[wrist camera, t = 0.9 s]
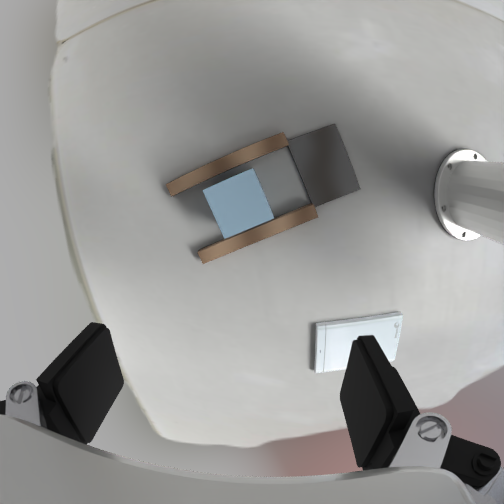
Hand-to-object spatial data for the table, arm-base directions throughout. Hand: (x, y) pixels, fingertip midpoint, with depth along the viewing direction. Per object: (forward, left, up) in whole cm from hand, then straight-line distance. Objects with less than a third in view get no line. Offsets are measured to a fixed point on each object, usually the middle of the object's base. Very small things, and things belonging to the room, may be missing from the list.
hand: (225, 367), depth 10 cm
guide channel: (-4, -4, -24) cm, 24 cm away
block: (-1, -4, -24) cm, 24 cm away
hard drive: (-8, +20, -25) cm, 33 cm away
